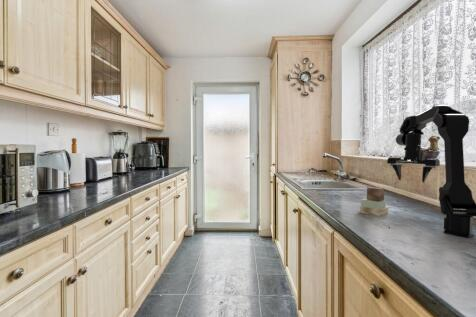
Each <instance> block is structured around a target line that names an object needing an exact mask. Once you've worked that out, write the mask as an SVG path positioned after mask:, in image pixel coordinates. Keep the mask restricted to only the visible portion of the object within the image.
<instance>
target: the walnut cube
mask: <svg viewBox="0 0 476 317" xmlns="http://www.w3.org/2000/svg"><path fill="white" fill-rule="evenodd" d="M366 198H367V200H374V201H382V200H385V188H384V187H376V186H370V187H366Z"/></svg>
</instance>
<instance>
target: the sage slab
mask: <svg viewBox="0 0 476 317" xmlns="http://www.w3.org/2000/svg"><path fill="white" fill-rule="evenodd" d="M360 200H361V201H360V206H362V207H368V208H373V209H381V208H385V207H387V204H386V202H387V201H386V199H384V200H382V201H374V200H367V197H365V198H361V199H360Z"/></svg>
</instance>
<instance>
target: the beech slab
mask: <svg viewBox="0 0 476 317" xmlns="http://www.w3.org/2000/svg"><path fill="white" fill-rule="evenodd" d="M359 213H362V214H366V215H371V216H376V217H381V216H384V215H388V214H389V207H388V206H385V208H381V209H373V208H368V207H362V206H361V205H359Z"/></svg>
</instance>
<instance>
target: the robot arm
mask: <svg viewBox="0 0 476 317" xmlns="http://www.w3.org/2000/svg"><path fill="white" fill-rule="evenodd" d="M432 122H433V123H434V125H435V126H436V127H437V132H438V133H437V134H438V135H439V137H441V138H442V141H443V142H444V164H445V165H444V166H445V167H444V168H445V170H444V172H445V183H444V185H442V186H440V187H439V188H438V192H439V197H438V198H439V199H438V201H439V206H440V212H441V214H443V215H446V216H444V218H443V233H446V234H449V235H450V234H451V235H455V236H459V237H464V238H470V237H472V236H473V235H474V234H475V232H473V224H474V223H473V222H474V217H476V201H475V199H474V198H473V192H472V190H471V188H470V187H469V186H468V184H467V183H466V180H465V179H466V178H465V159H464V158H465V157H464V156H465V155H464V138H465V137H466V135H467V134H468V132H469V128H470V118H469V116H467V115H466V114H464V113H463V112H462V111H459V110H456V109H455V108H452V107H451V106H450V105H447V104H437V105H432V106H431V108H429V109H426V111H423V112H421V113H419V114H416V115H409V116H406V117H405V118H404V119H403V122H402V123H401V125H400V127H399V134H398V135H396V137H395V143H396V144H398V145H399V146H404V148H403V150H404V157H403V158H402V157H398V156H397V157H395V156H393V157H387V159H386V160H387V161H386V164H389V166H391V167H392V168H393V170H394V172H395V174H396V176H397V178H398V179H397V180H398V181H401V180H402V167H403V164H414V165H424V166H422V176H421V177H422V178H421V181H422V183H425V181H426V180H427V177H428V175H429V174H430V172H431V171H432V169H435V168H436V167H439V166H441V165H440V164H441V161H440V160H439V158H438V159H437V158H426V154H425V153H424V152H423V148H422V136H423V135H424V132H423V130H424V129H425V128H426V127H427V124H430V123H432Z"/></svg>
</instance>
